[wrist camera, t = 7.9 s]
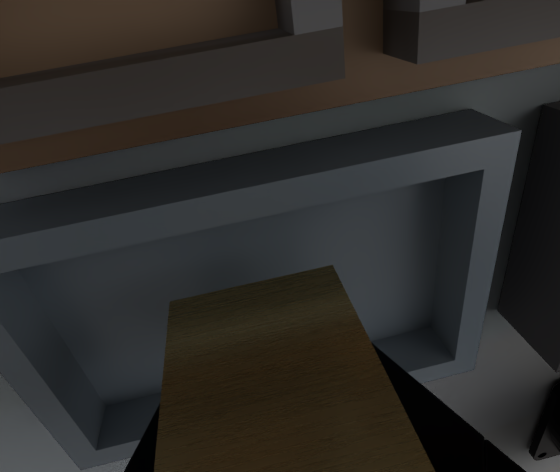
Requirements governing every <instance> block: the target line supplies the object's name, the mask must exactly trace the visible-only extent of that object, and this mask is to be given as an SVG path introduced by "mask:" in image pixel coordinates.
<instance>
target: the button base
mask: <svg viewBox="0 0 560 472" xmlns="http://www.w3.org/2000/svg"><path fill="white" fill-rule="evenodd" d="M498 312H499V313H500V314H501V315H502V316H503V317H504V318H505V319H506V320H507V321H508V322H509V323H510V324H511V325H512V326H513V327H514V329H515V330H516V331H517V332H518V333H519V334H520V335H521V336H522V337H523V338H524V339H525V340H526V341H527V342H528V343H529V344H530V345H531V346H532V348H533V349H534V350H535V351H536V352H537V353H538V354H539V355H540V356H541V357H542V358H543V359H544V360H545V361H546V362H547V363H548V364H549V365H550V366H551V368H552V369H553V370H554V371H555V372H560V101H559V102H554V103H549V104H544V105H543V107H542V112H541V116H540V121H539V125H538V130H537V134H536V139H535V143H534V148H533V152H532V157H531V161H530V166H529V170H528V175H527V179H526V184H525V189H524V193H523V198H522V202H521V207H520V211H519V216H518V220H517V225H516V229H515V234H514V238H513V243H512V247H511V252H510V256H509V261H508V265H507V270H506V275H505V279H504V284H503V288H502V293H501V297H500V302H499V306H498Z"/></svg>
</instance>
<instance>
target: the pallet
mask: <svg viewBox="0 0 560 472" xmlns="http://www.w3.org/2000/svg"><path fill="white" fill-rule="evenodd" d="M558 63H560V0H0V173H5V172H10V171H15V170H20V169H25V168H30V167H35V166H40V165H45V164H50V163H55V162H61V161H66V160H71V159H76V158H81V157H86V156H91V155H96V154H101V153H106V152H111V151H116V150H122V149H127V148H132V147H137V146H142V145H147V144H152V143H157V142H162V141H167V140H172V139H177V138H182V137H188V136H193V135H198V134H203V133H208V132H213V131H218V130H223V129H228V128H233V127H238V126H243V125H248V124H254V123H259V122H264V121H269V120H274V119H279V118H284V117H289V116H294V115H299V114H304V113H309V112H315V111H320V110H325V109H330V108H335V107H340V106H345V105H350V104H355V103H360V102H365V101H370V100H375V99H381V98H386V97H391V96H396V95H401V94H406V93H411V92H416V91H421V90H426V89H431V88H436V87H441V86H447V85H452V84H457V83H462V82H467V81H472V80H477V79H482V78H487V77H492V76H497V75H502V74H508V73H513V72H518V71H523V70H528V69H533V68H538V67H543V66H548V65H553V64H558Z"/></svg>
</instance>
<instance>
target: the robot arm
mask: <svg viewBox="0 0 560 472" xmlns="http://www.w3.org/2000/svg"><path fill="white" fill-rule="evenodd" d="M371 343H372V342H371ZM372 345H373V347H374V349H375V351H376V353H377V355H378V357H379V359H380V361H381V363H382V365H383V367H384V369H385V371H386V373H387V375H388V377H389V379H390V381H391V383H392V385H393V387H394V389H395V391H396V393H397V395H398V397H399V399H400V401H401V403H402V405H403V407H404V410H405V412H406V414H407V416H408V418H409V420H410V422H411V424H412V426H413V428H414V430H415V432H416V434H417V436H418V438H419V440H420V442H421V444H422V446H423V448H424V450H425V452H426V454H427V456H428V458H429V460H430V462H431V464H432V466H433V468H434V470H435V472H526V471H525V470H524V469H522V468H521V467H520V466H519V465H517V464H516V463H515V462H514V461H512V460H511V459H510V458H509V457H508V456H506V455H505V454H504V453H503V452H501V451H500V450H499V449H498V448H497V447H496V446H494V445H493V444H492V443H491V442H490V441H488V440H485V441H484V437H483V436H482V435H481V434H480V433H479V432H478V431H476V430H475V429H474V428H473V427H472V426H470V425H469V424H468V423H467V422H466V421H464V420H463V419H462V418H461V417H460V416H459V415H457V414H456V413H455V412H454V411H453V410H451V409H450V408H449V407H448V406H447V405H445V404H444V403H443V402H442V401H441V400H440V399H438V398H437V397H436V396H435V395H434V394H432V393H431V392H430V391H429V390H428V389H426V388H425V387H424V386H423V385H422V384H421V383H419V382H418V381H417V380H416V379H415V378H413V377H412V376H411V375H410V374H409V373H407V372H406V371H405V370H404V369H403V368H402V367H400V366H399V365H398V364H397V363H396V362H394V361H393V360H392V359H391V358H390V357H388V356H387V355H386V354H385V353H384V352H383V351H381V350H380V349H379V348H378V347H377V346H375V345H374V344H373V343H372ZM159 411H160V403H159V405H158V407H157V409H156V411H155V413H154V415H153V417H152V419H151V421H150V423H149V424H148V426H147V428H146V430H145V432H144V434H143V436H142V438H141V440H140V442H139V444H138V446H137V447H136V449H135V451H134V453H133V455H132V457H131V459H130V461H129V463H128V465H127V467H126V469H125V471H124V472H154V464H155V453H156V443H157V432H158V421H159ZM529 453H530V454H531V456H532V457H533V459H534V460H542V459H545V458H549V457H553V456H556V455H560V383H558V384H557V385H555V386H554V387H553V389H552V391H551V394H550V396H549V399H548V402H547V404H546V407H545V409H544V412H543V415H542V417H541V420H540V422H539V425H538V428H537V430H536V433H535V436H534V438H533V441H532V443H531V446H530V449H529Z"/></svg>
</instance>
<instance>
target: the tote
mask: <svg viewBox="0 0 560 472" xmlns="http://www.w3.org/2000/svg"><path fill="white" fill-rule="evenodd" d="M521 132H522V130H520V129H518V128H515V127H513V126H511V125H508V124H506V123H503V122H501V121H499V120H496V119H494V118H492V117H489V116H487V115H484V114H482V113H480V112H477V111H475V110H473V109H468V110H463V111H458V112H453V113H448V114H443V115H438V116H433V117H428V118H423V119H419V120H414V121H409V122H404V123H399V124H394V125H389V126H384V127H379V128H374V129H369V130H364V131H359V132H354V133H349V134H344V135H340V136H335V137H330V138H325V139H320V140H315V141H310V142H305V143H300V144H295V145H290V146H285V147H280V148H275V149H270V150H265V151H261V152H256V153H251V154H246V155H241V156H236V157H231V158H226V159H221V160H216V161H211V162H206V163H201V164H196V165H191V166H186V167H182V168H177V169H172V170H167V171H162V172H157V173H152V174H147V175H142V176H137V177H132V178H127V179H122V180H117V181H112V182H107V183H103V184H98V185H93V186H88V187H83V188H78V189H73V190H68V191H63V192H58V193H53V194H48V195H43V196H38V197H33V198H28V199H24V200H19V201H14V202H9V203H4V204H0V373H1V374H2V375H3V377H4V378H5V379H6V380H7V381H8V383H9V384H10V385H11V386H12V388H13V389H14V390H15V391H16V392H17V394H18V395H19V396H20V397H21V398H22V400H23V401H24V402H25V403H26V404H27V406H28V407H29V408H30V409H31V411H32V412H33V413H34V414H35V415H36V417H37V418H38V419H39V420H40V421H41V423H42V424H43V425H44V426H45V427H46V429H47V430H48V431H49V432H50V434H51V435H52V436H53V437H54V438H55V440H56V441H57V442H58V443H59V444H60V446H61V447H62V448H63V449H64V450H65V452H66V453H67V454H68V455H69V457H70V458H71V459H72V460H73V461H74V463H75V464H76V465H77V466H78V467H79V469H80V470H84V469H87V468H91V467H95V466H99V465H103V464H107V463H111V462H115V461H119V460H123V459H127V458H131V457H132V455H133V453H134V451H135V449H136V447H137V446H138V444H139V442H140V440H141V438H142V436H143V434H144V432H145V430H146V428H147V426H148V424H149V423H150V421H151V419H152V417H153V415H154V413H155V411H156V409H157V407H158V405H159V403H160V400H161V389H162V378H163V368H164V357H165V346H166V335H167V325H168V314H169V303H170V301H174V300H179V299H183V298H187V297H192V296H196V295H201V294H205V293H210V292H214V291H218V290H223V289H227V288H232V287H236V286H240V285H245V284H249V283H254V282H258V281H263V280H267V279H271V278H276V277H280V276H285V275H289V274H294V273H298V272H302V271H307V270H311V269H316V268H320V267H324V266H329V265H333V267H334V269H335V271H336V273H337V275H338V277H339V279H340V281H341V283H342V285H343V287H344V289H345V291H346V293H347V295H348V297H349V299H350V301H351V303H352V305H353V307H354V309H355V311H356V313H357V315H358V317H359V319H360V321H361V323H362V325H363V327H364V329H365V331H366V333H367V335H368V337H369V339H370V341H371V342H372V343H373V344H374V345H375V346H377V347H378V348H379V349H380V350H381V351H383V352H384V353H385V354H386V355H387V356H388V357H390V358H391V359H392V360H393V361H394V362H396V363H397V364H398V365H399V366H400V367H402V368H403V369H404V370H405V371H406V372H407V373H409V374H410V375H411V376H412V377H413V378H415V379H416V380H417V381H418V382H419V383H425V382H429V381H432V380H436V379H440V378H444V377H448V376H452V375H456V374H460V373H464V372H468V371H472V370H474V368H475V363H476V358H477V353H478V348H479V343H480V338H481V333H482V328H483V323H484V318H485V313H486V308H487V303H488V298H489V293H490V288H491V283H492V278H493V273H494V268H495V262H496V257H497V252H498V247H499V242H500V237H501V232H502V227H503V222H504V217H505V212H506V207H507V202H508V197H509V192H510V187H511V182H512V177H513V172H514V167H515V162H516V157H517V152H518V147H519V142H520V137H521Z"/></svg>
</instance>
